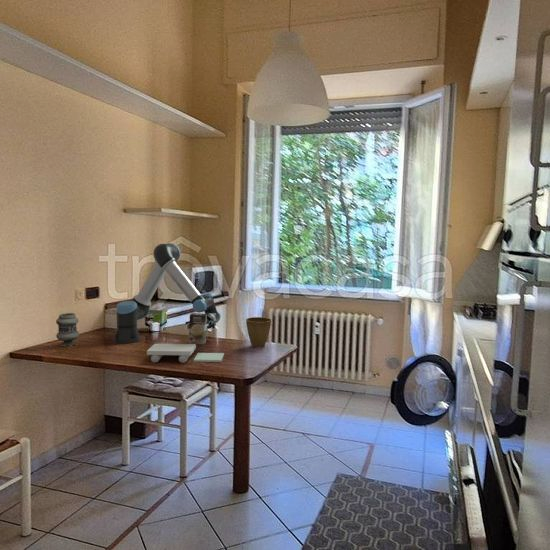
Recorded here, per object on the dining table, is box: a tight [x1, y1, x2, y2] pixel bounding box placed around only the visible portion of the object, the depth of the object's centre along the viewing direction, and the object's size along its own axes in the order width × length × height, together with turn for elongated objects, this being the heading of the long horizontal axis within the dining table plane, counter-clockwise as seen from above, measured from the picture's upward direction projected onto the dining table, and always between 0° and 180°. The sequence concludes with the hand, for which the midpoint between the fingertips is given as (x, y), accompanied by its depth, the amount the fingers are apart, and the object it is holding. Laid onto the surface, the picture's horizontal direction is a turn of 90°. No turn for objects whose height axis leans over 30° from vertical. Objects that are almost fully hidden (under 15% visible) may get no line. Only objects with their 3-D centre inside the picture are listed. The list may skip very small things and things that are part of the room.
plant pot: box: [245, 316, 272, 348], centre depth 269 cm, size 15×15×16 cm
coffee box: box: [188, 312, 207, 345], centre depth 256 cm, size 9×6×16 cm
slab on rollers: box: [146, 343, 197, 364], centre depth 239 cm, size 22×16×6 cm
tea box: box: [148, 306, 169, 332], centre depth 314 cm, size 15×10×15 cm
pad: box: [193, 352, 225, 363], centre depth 242 cm, size 14×14×1 cm
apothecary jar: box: [55, 312, 80, 347], centre depth 265 cm, size 12×12×18 cm
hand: (195, 327), depth 252 cm, fingers closed on coffee box, 10 cm apart
